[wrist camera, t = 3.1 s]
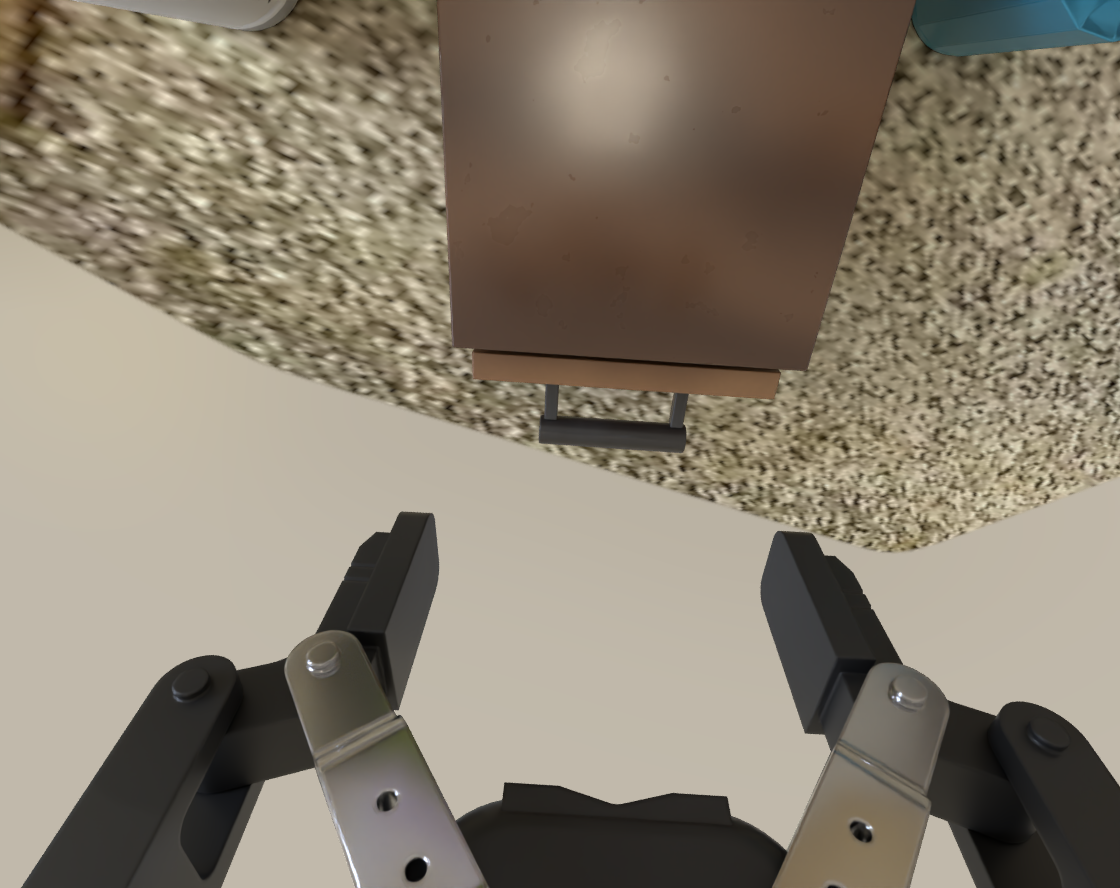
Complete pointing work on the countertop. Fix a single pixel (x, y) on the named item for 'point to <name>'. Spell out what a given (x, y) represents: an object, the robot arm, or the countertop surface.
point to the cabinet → (656, 170)
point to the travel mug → (211, 11)
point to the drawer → (621, 376)
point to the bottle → (1014, 24)
